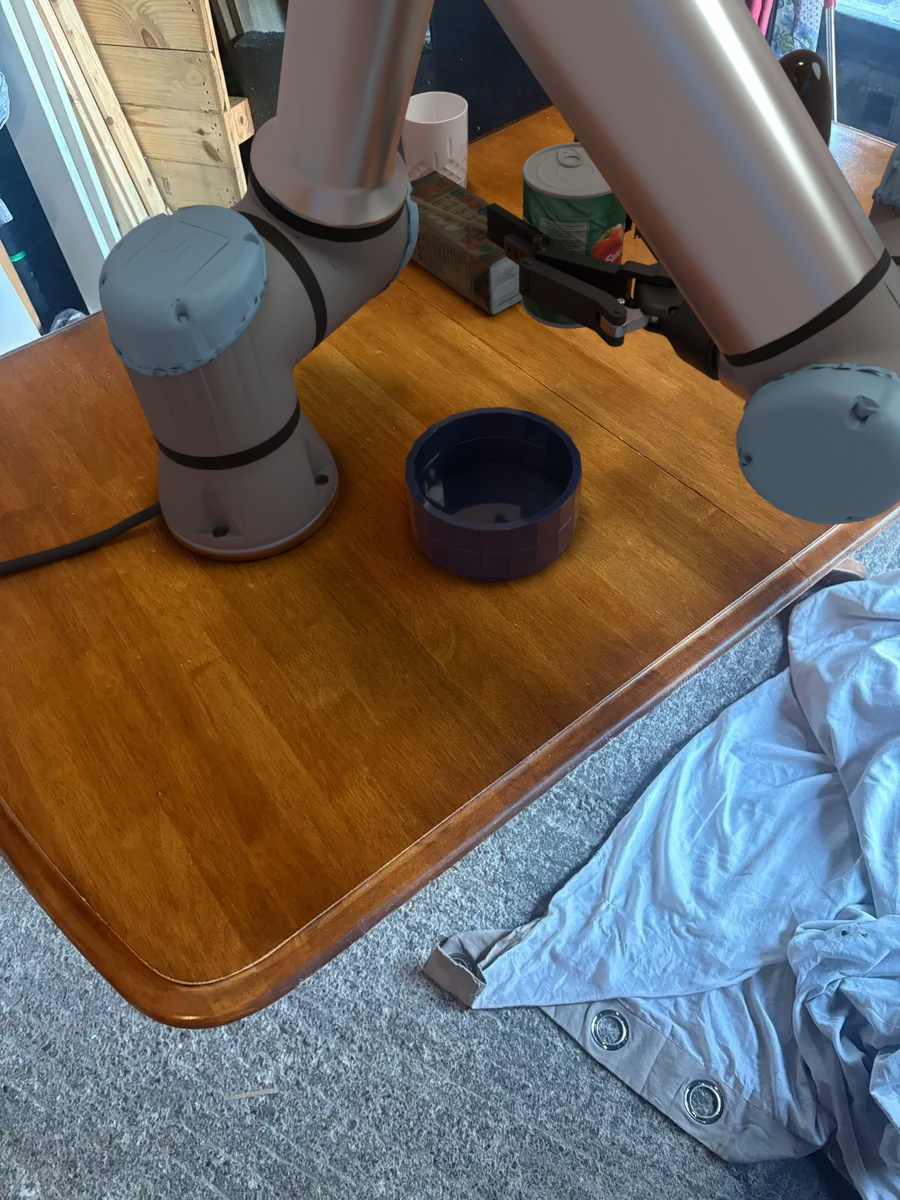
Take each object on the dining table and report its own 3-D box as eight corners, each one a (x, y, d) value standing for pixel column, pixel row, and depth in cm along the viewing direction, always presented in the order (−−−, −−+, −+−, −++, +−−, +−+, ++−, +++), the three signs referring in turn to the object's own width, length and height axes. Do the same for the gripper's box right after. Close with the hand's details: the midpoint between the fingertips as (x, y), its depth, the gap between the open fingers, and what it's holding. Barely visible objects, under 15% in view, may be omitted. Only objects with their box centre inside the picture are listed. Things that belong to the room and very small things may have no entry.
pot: (476, 609, 69) (473, 558, 64) (380, 507, 76) (371, 455, 71) (611, 527, 73) (618, 474, 68) (509, 438, 80) (508, 385, 76)
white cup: (464, 212, 105) (460, 124, 97) (399, 208, 106) (390, 121, 98) (476, 178, 110) (473, 92, 102) (414, 175, 111) (406, 90, 103)
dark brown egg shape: (710, 204, 103) (735, 60, 91) (746, 165, 108) (775, 24, 96) (795, 226, 99) (834, 80, 87) (829, 185, 104) (870, 41, 92)
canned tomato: (629, 321, 71) (645, 186, 63) (533, 335, 71) (535, 202, 62) (602, 267, 76) (614, 135, 67) (512, 281, 76) (512, 149, 67)
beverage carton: (489, 320, 91) (488, 261, 86) (383, 246, 101) (376, 189, 96) (548, 290, 94) (550, 231, 89) (439, 220, 104) (435, 164, 99)
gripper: (630, 444, 58) (431, 292, 70) (839, 321, 65) (625, 202, 77) (643, 348, 53) (423, 201, 65) (872, 224, 59) (634, 112, 71)
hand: (533, 202), depth 71 cm, fingers closed on canned tomato, 8 cm apart
